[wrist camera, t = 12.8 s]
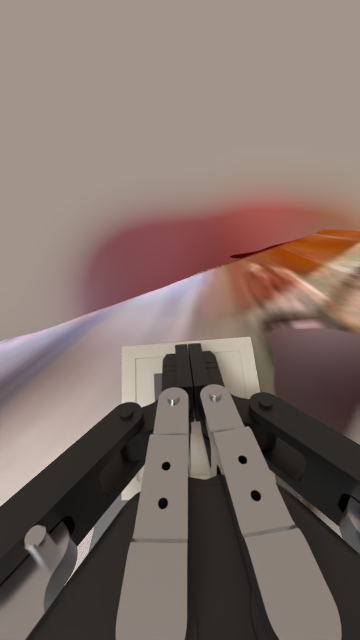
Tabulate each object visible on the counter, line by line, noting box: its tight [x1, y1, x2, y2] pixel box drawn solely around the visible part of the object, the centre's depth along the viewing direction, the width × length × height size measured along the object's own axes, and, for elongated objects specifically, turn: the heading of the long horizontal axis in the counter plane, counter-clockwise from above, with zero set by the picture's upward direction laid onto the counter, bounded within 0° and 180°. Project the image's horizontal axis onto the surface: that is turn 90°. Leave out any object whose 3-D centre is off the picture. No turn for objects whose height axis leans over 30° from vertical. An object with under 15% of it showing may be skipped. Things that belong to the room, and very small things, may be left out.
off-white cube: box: [122, 337, 276, 500], centre depth 17 cm, size 8×8×8 cm
